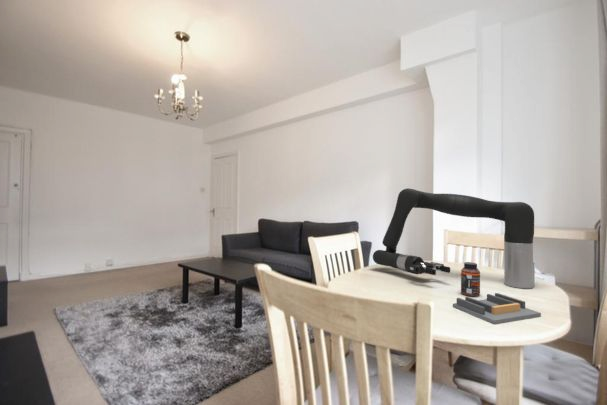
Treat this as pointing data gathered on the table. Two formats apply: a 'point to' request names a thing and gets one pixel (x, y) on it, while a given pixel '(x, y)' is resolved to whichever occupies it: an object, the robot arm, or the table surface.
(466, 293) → the supplement bottle
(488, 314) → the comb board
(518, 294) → the table surface
